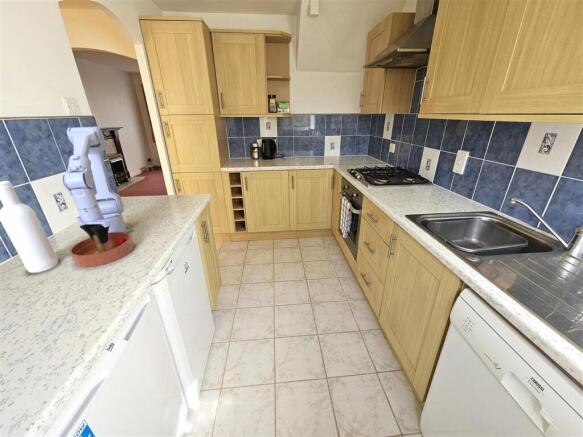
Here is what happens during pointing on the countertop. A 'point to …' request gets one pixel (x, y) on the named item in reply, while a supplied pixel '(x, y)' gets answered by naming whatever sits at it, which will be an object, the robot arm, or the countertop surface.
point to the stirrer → (100, 245)
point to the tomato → (120, 241)
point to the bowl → (86, 249)
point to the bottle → (25, 231)
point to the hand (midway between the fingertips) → (101, 241)
